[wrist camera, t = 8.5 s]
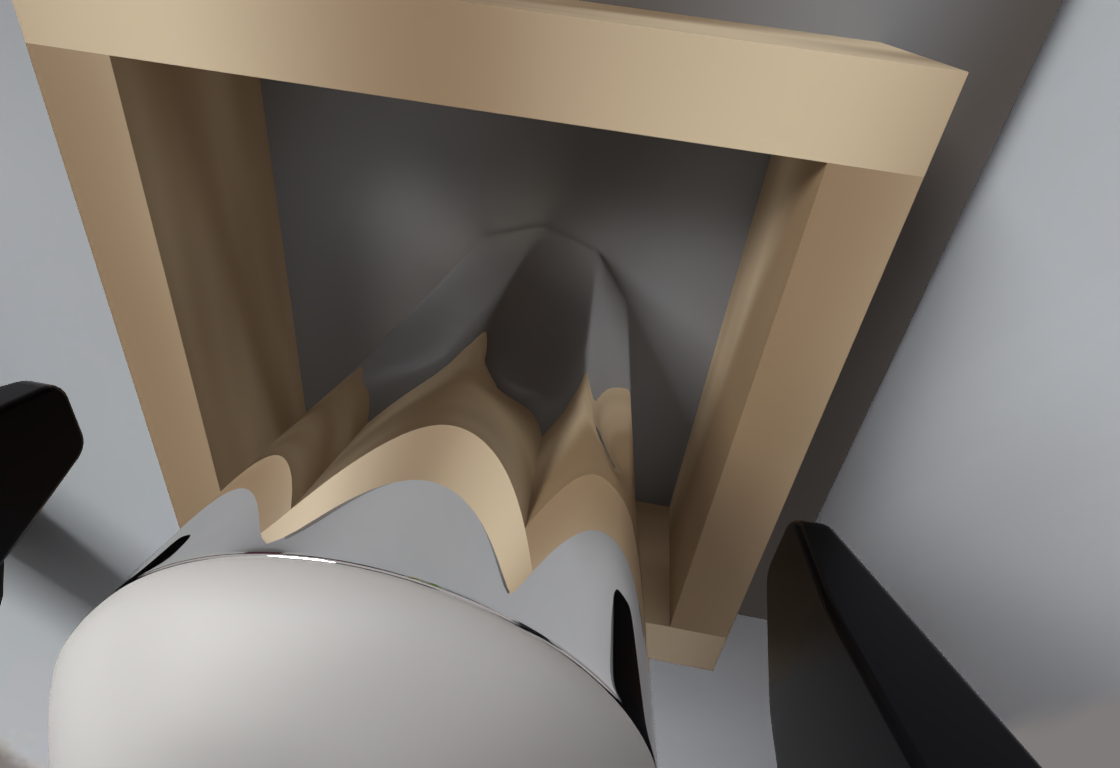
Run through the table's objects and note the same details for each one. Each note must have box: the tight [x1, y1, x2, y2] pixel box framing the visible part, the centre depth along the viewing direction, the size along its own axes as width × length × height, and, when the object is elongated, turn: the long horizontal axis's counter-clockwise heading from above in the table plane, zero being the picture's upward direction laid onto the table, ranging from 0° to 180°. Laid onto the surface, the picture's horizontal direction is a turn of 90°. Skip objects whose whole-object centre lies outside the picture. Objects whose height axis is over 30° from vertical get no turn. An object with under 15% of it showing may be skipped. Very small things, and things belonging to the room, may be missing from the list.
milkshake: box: [48, 226, 658, 768], centre depth 7 cm, size 4×5×10 cm
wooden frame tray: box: [12, 0, 1063, 671], centre depth 11 cm, size 14×14×3 cm
